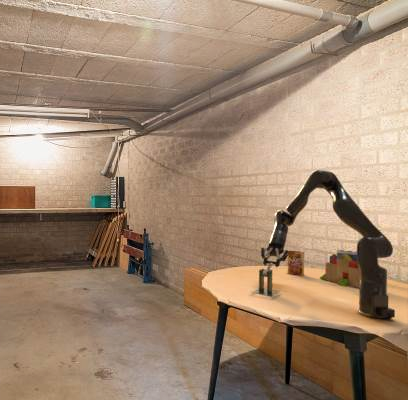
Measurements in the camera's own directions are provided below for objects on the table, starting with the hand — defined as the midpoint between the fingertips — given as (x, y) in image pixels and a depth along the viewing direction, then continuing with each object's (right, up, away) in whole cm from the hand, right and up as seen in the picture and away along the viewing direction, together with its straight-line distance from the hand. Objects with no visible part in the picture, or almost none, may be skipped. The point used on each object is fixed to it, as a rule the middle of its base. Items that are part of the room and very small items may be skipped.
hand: (270, 265), depth 180 cm
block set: (+54, -15, +20) cm, 59 cm away
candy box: (+38, -14, +45) cm, 60 cm away
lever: (-2, -2, -2) cm, 3 cm away
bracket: (-5, -14, -5) cm, 16 cm away
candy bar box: (+70, -15, +41) cm, 82 cm away
